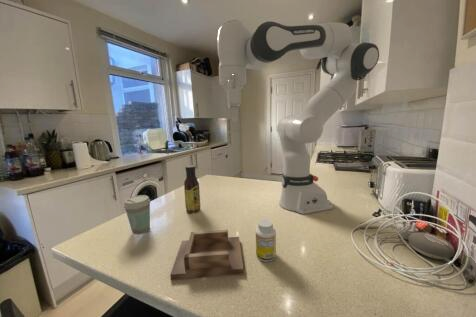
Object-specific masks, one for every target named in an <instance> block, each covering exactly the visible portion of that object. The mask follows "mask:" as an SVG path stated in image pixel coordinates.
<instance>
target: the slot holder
mask: <svg viewBox="0 0 476 317" xmlns="http://www.w3.org/2000/svg"><path fill="white" fill-rule="evenodd" d="M240 240H241V239H240V236H230V237H229V230H228V229H220V230H206V231H205V230H204V231H192V232H190V234H189V238H188V240H181V242H180V245H179V248H178V252H177V255H176V258H175V259H174V263H173V266H172V269H171V271H170V274H169V275H170V276H169V277H170V281H175V280H186V279H187V280H188V279H199V278H209V277H210V278H211V277H222V276H235V275H236V276H237V275H244V265H243V264H244V263H243V257H242V249H241V241H240Z"/></svg>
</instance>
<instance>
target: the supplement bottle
mask: <svg viewBox="0 0 476 317" xmlns="http://www.w3.org/2000/svg"><path fill="white" fill-rule="evenodd" d="M257 224H258V226H257V227H256V229H255V254H256V257H257V258H258V260H260V261H262V262H271V261H273V260H275V258H276V256H277V245H276V244H277V231H276V229H275V228H274V225H273V224H274V223H273V221H272V220H270V219H261V220H259V221H258V223H257Z"/></svg>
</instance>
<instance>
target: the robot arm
mask: <svg viewBox="0 0 476 317" xmlns="http://www.w3.org/2000/svg"><path fill="white" fill-rule="evenodd" d="M352 35H353V34H352V29H351V27H350V26H349V25H348V24H347V23H343V22H335V21H334V22H323V23H317V24H308V25H306V24H305V25H284V24H281V23H279V22H276V21H265V22H262V23H261V24H260V25H259V26H257V28H256V30H255V31H254V33H253V32H252V31H250V30H249V29H248V28H246V26H244V24H243V22H242V21H240V20H237V19H236V20H235V19H234V20H228V21H226V22H224V23H223V24H222V25H220V27H219V29H218V32H217V56H218V60H219V63H218V81H219V85H220V86H222V87H223V90H224V91H225V95H226V102H227V108H228V109H229V110H230V117H231V122H233V123H238V121H239V107H240V106H241V105H242V94H241V93H242V92H241V90H243V89H244V87H243V86H244V85H246V84H247V70H251V71H257V70H261V69H263V68H265V67H266V66H268V65H270V64H271V63H273V62H275V61H277V60H279V59H280V58H282V57H283V56H285V55H286V54H287V53H288V52H294V51H295V52H296V51H299V52H300V55H301V56H302V57H303V58H304V59H305V60H318V59H320V60H321V61H320V66H321V69H322V71H323V73H325V74H327V75H330V76H333V77H332V78H331V80H330V81H329V82H328V83H326V84H325V85H324V86H322V88H320V89H319V90H318V91H317V93H315V94H314V95H313V96H312V97H310V99H309V100H308V101H307V105H306V106H305V108H303V110H302V111H300V113H298V114H296V115H286V116H284V117H283V118H281V119H280V120H279V121H278V123H277V125H276V132H277V134H278V136H279V141H280V147H281V152H282V168H283V169H282V174H281V186H282V189H281V194H280V199H279V202H278V205H279V206H280V207H281V208H282V209H285V210H288V211H292V212H296V213H299V214H302V215H306V214H310V213H311V214H312V213H317V212H323V211H324V212H325V211H328V210H334V204H333V203H332V201H330V200H329V198H328V195H327V192H326V190H324V188H322V187H321V186H320V185H318V184H316V183H315V182H318V181H319V177H318V176H316V175H313V174H312V173H310V172H311V170H310V169H311V155H310V153H309V151H308V149H307V146H306V144H312V143H315V142H317V141H319V139H320V138H321V137H322V135H323V132H324V126H325V124H326V123H327V121H328V120H329V119H330V118H332V116H333V115H334V114H336V113H337V111H339V110H340V109H341V108H342V107H343V106H344V105H345V104H347V102H348V101H349V100H350V98H352V96H353V95H354V93H355V92H356V91H357V88H358V83H357V81H361V80H363V79H365V78H366V76H367V75H368V74H369V73H371V71H372V70H374V68H375V67H376V65H377V64H378V62H379V58H380V50H379V47H378V45H376V44H375V43H372V42H361V43H360V42H359V43H357V42H356V43H352V42H351V40H352V37H353V36H352Z"/></svg>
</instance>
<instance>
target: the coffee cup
mask: <svg viewBox="0 0 476 317" xmlns="http://www.w3.org/2000/svg"><path fill="white" fill-rule="evenodd" d="M150 206H151V199H150V197H149V196H148V195H146V194H139V195H135V196H130V197H129V198H126V199H125V201H124V204H123V208H124V209H125V212H126V216H127V219H128V223H129V227H130V230H131V232H132V234H133V235H141V234H145V233H146V232H149V231H150V229H151V228H150V227H151V207H150Z"/></svg>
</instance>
